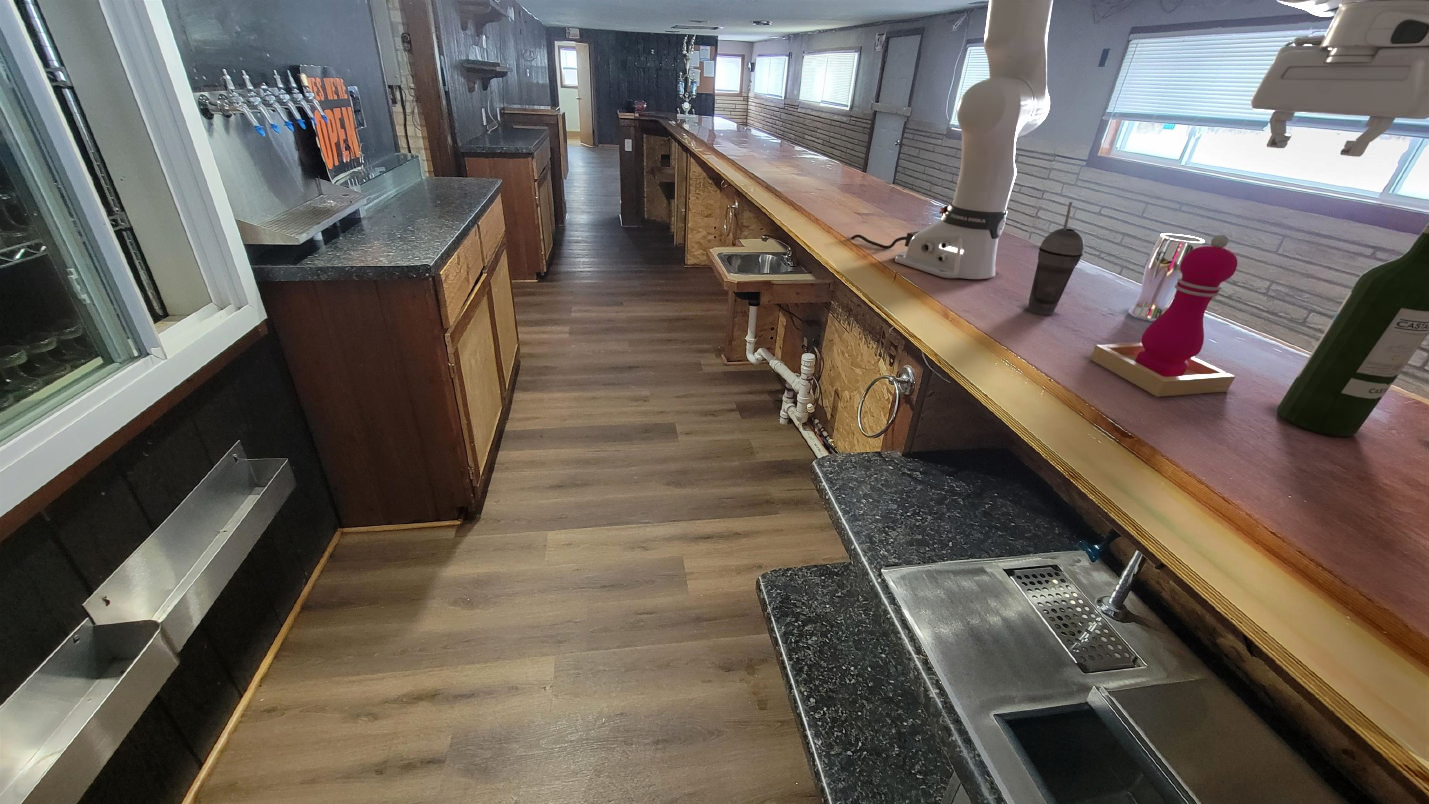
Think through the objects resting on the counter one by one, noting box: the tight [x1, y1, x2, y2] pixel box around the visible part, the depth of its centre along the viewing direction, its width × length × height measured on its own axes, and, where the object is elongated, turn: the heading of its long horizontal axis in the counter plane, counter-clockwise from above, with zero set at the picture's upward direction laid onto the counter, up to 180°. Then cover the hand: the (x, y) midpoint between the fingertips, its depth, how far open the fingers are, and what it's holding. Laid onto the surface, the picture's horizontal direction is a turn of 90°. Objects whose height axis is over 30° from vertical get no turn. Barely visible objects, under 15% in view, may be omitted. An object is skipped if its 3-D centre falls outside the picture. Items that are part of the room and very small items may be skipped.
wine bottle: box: [1276, 222, 1429, 438], centre depth 67 cm, size 8×8×30 cm
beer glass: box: [1128, 233, 1205, 323], centre depth 105 cm, size 7×7×15 cm
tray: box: [1089, 342, 1236, 398], centre depth 85 cm, size 12×12×2 cm
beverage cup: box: [1027, 201, 1085, 316], centre depth 104 cm, size 7×7×20 cm
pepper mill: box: [1135, 234, 1238, 377], centre depth 80 cm, size 7×7×20 cm
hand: (1310, 151), depth 78 cm, fingers open, 8 cm apart
